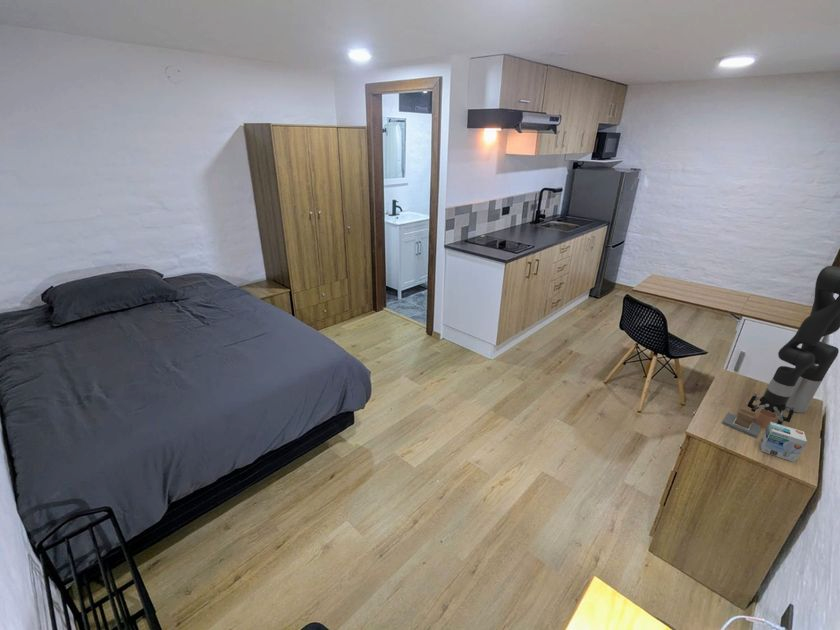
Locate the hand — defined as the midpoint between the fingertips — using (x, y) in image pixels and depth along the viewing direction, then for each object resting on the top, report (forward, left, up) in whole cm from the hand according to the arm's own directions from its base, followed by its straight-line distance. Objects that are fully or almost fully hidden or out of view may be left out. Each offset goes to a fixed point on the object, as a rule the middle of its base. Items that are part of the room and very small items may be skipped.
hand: (763, 421), depth 170 cm
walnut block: (+8, -6, -1) cm, 10 cm away
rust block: (0, 0, -2) cm, 2 cm away
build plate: (+8, -6, -2) cm, 10 cm away
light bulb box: (+15, +7, -2) cm, 17 cm away
